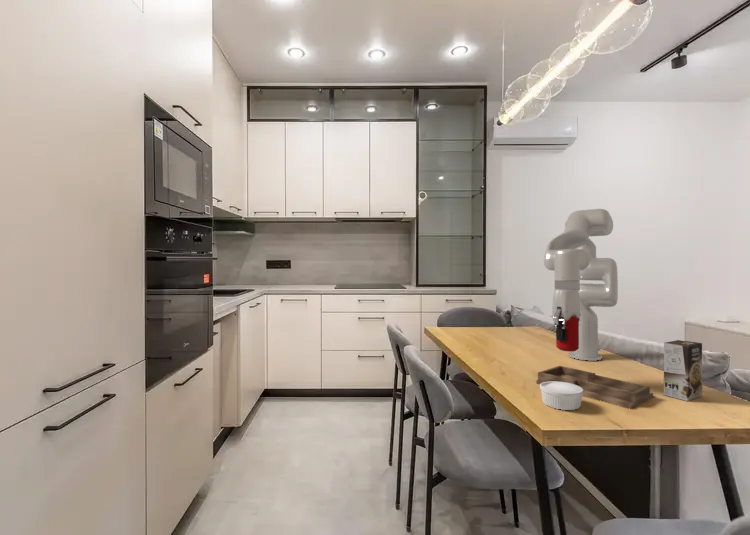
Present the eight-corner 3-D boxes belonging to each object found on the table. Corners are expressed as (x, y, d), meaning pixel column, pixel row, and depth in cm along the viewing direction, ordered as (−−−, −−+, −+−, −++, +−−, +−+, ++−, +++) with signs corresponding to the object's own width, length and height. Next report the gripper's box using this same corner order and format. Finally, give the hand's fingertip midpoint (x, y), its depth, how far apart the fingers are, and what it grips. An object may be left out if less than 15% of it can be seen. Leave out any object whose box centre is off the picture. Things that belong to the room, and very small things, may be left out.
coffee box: (688, 401, 107) (688, 346, 107) (662, 395, 113) (662, 342, 113) (703, 396, 111) (703, 342, 111) (678, 390, 117) (677, 339, 117)
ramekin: (548, 395, 114) (548, 378, 114) (589, 404, 106) (588, 386, 106) (533, 405, 106) (533, 386, 106) (575, 416, 98) (575, 396, 98)
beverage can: (573, 347, 127) (573, 312, 127) (582, 352, 121) (582, 315, 121) (553, 347, 128) (552, 312, 128) (560, 352, 121) (560, 315, 121)
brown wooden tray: (536, 383, 125) (536, 372, 125) (561, 374, 134) (561, 365, 134) (630, 408, 102) (630, 396, 102) (653, 396, 112) (653, 385, 111)
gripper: (569, 284, 132) (569, 334, 132) (541, 286, 122) (542, 340, 122) (591, 285, 126) (591, 337, 126) (564, 287, 116) (565, 344, 116)
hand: (567, 338), depth 124 cm, fingers closed on beverage can, 6 cm apart
